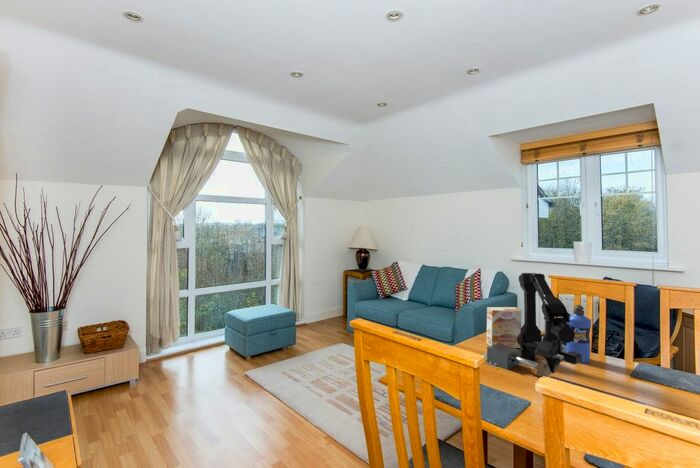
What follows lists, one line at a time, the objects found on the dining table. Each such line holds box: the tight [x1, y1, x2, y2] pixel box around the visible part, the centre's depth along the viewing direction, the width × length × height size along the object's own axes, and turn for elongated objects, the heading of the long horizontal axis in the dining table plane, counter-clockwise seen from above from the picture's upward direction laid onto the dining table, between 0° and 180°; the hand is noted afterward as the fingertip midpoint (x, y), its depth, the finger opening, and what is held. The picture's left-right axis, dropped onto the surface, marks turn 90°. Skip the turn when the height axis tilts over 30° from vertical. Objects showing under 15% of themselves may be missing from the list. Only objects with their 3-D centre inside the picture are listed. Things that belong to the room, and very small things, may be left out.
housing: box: [486, 343, 521, 371], centre depth 156 cm, size 9×10×7 cm
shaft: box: [511, 355, 552, 378], centre depth 147 cm, size 5×18×5 cm, turn 33°
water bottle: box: [566, 304, 592, 364], centre depth 160 cm, size 9×9×25 cm
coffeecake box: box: [486, 306, 522, 348], centre depth 177 cm, size 15×7×20 cm, turn 91°
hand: (552, 373), depth 138 cm, fingers closed
